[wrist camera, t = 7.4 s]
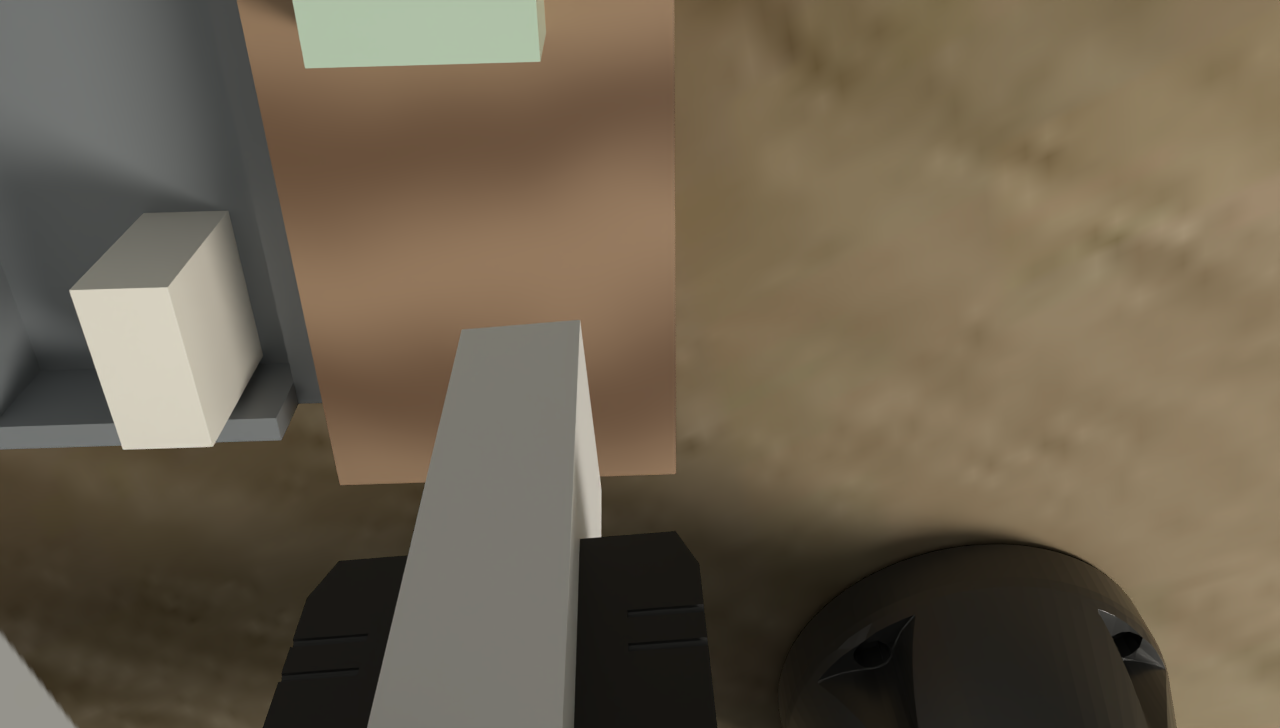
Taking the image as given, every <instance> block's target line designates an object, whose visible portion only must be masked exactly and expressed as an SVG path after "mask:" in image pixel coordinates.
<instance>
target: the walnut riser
mask: <svg viewBox="0 0 1280 728" xmlns="http://www.w3.org/2000/svg"><path fill="white" fill-rule="evenodd" d="M237 4H238V9H239V14H240V18H241V23H242V28H243V32H244V37H245V42H246V47H247V51H248V56H249V61H250V65H251V70H252V75H253V79H254V84H255V89H256V93H257V98H258V103H259V108H260V112H261V117H262V122H263V126H264V131H265V136H266V140H267V145H268V150H269V154H270V159H271V164H272V169H273V173H274V178H275V183H276V187H277V192H278V197H279V201H280V206H281V211H282V215H283V220H284V225H285V230H286V234H287V239H288V244H289V248H290V253H291V258H292V262H293V267H294V272H295V276H296V281H297V286H298V291H299V295H300V300H301V305H302V309H303V314H304V319H305V323H306V328H307V333H308V337H309V342H310V347H311V352H312V356H313V361H314V366H315V370H316V375H317V380H318V384H319V389H320V394H321V398H322V403H323V408H324V413H325V417H326V422H327V427H328V431H329V436H330V441H331V445H332V450H333V455H334V459H335V464H336V469H337V474H338V478H339V483H340V485H360V484H390V483H420V482H426V478H427V473H428V469H429V465H430V461H431V457H432V452H433V448H434V444H435V440H436V436H437V431H438V427H439V423H440V419H441V415H442V410H443V406H444V402H445V398H446V394H447V389H448V385H449V381H450V377H451V372H452V368H453V364H454V360H455V356H456V351H457V347H458V343H459V339H460V335H461V330H463V329H475V328H487V327H499V326H511V325H523V324H535V323H547V322H559V321H571V320H580V323H581V331H582V339H583V347H584V355H585V363H586V371H587V379H588V387H589V395H590V403H591V410H592V418H593V426H594V434H595V442H596V450H597V458H598V466H599V474H600V476H630V475H660V474H676V349H675V77H674V0H544V8H545V24H546V36H545V41H544V46H543V51H542V56H541V61H540V62H514V63H478V64H443V65H408V66H372V67H337V68H305V65H304V60H303V55H302V49H301V44H300V39H299V33H298V28H297V22H296V17H295V12H294V6H293V1H292V0H237Z"/></svg>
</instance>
